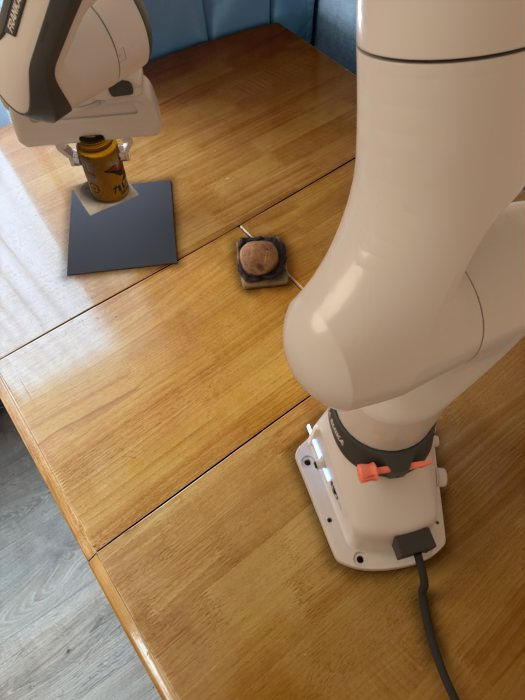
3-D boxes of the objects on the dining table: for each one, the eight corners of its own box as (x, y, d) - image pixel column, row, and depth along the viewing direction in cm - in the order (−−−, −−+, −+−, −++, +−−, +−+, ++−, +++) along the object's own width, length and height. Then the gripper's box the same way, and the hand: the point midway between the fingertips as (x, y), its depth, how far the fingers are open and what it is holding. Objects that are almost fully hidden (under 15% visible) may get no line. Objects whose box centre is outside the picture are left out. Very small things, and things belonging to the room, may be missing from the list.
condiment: (139, 195, 85) (122, 131, 75) (90, 216, 83) (66, 152, 73) (119, 169, 88) (101, 104, 78) (72, 188, 86) (46, 124, 76)
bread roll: (291, 286, 86) (292, 271, 82) (239, 290, 85) (238, 276, 82) (282, 237, 91) (283, 221, 88) (233, 241, 90) (233, 225, 87)
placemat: (177, 263, 88) (176, 262, 88) (67, 275, 87) (66, 274, 86) (170, 180, 98) (170, 180, 98) (72, 190, 97) (71, 189, 97)
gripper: (-12, 95, 66) (30, 182, 78) (152, 81, 68) (169, 168, 80) (-6, 66, 70) (33, 153, 81) (150, 53, 71) (166, 141, 83)
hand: (101, 161), depth 81 cm, fingers closed on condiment, 6 cm apart
